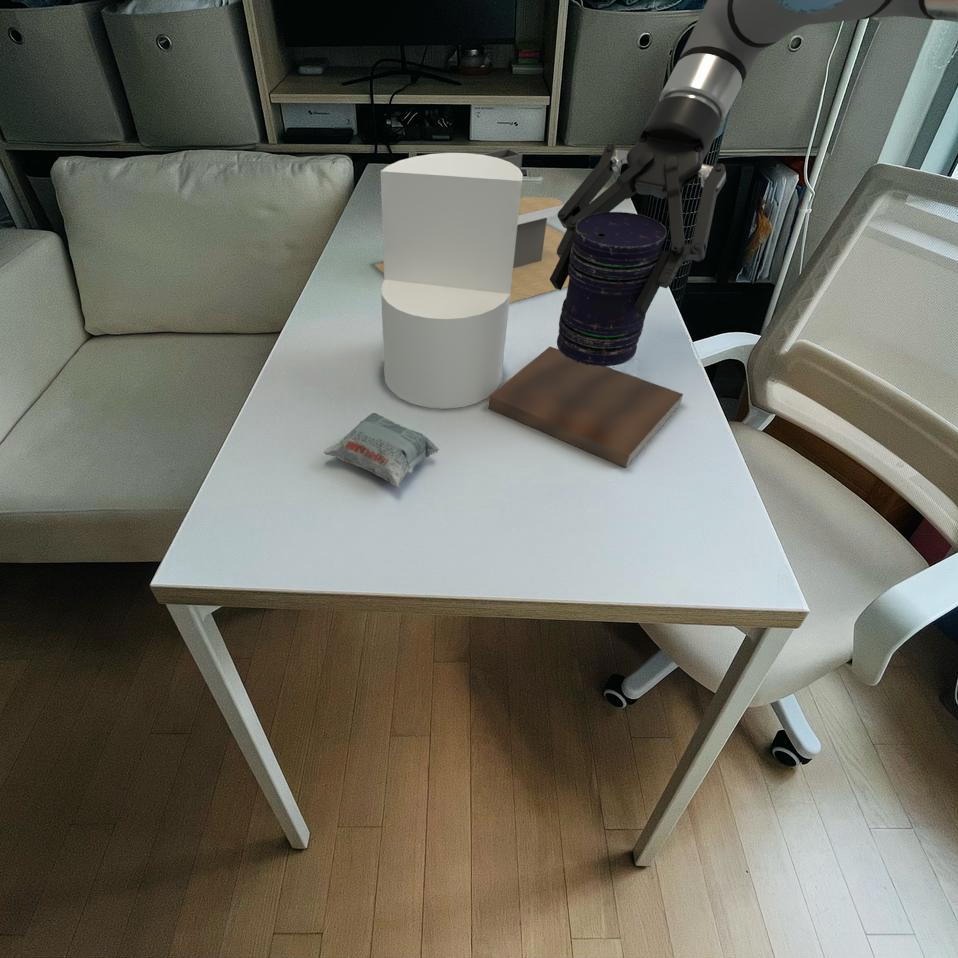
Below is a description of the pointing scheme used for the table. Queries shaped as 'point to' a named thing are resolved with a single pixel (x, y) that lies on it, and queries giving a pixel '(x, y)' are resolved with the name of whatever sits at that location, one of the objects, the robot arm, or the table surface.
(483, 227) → the cylinder
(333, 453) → the packaged food
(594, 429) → the board
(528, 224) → the architectural model
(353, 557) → the table surface
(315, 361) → the table surface
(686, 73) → the robot arm
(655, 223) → the navy ribbed canister
